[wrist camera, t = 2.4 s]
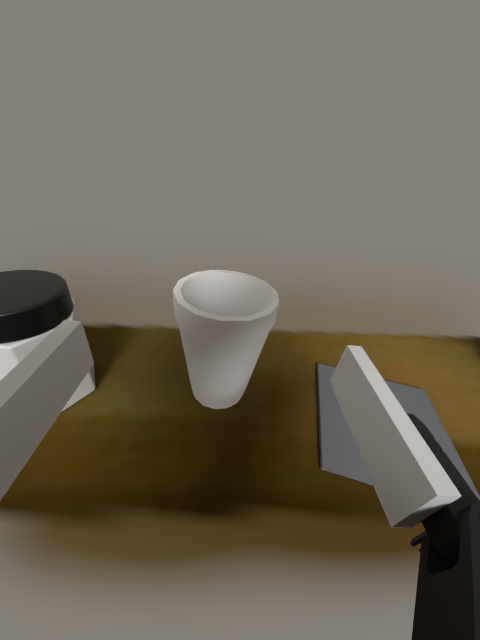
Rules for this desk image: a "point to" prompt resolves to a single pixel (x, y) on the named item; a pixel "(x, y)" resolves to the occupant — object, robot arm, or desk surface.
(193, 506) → the desk surface
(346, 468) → the charcoal mat
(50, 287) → the jar
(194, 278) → the foam cup
